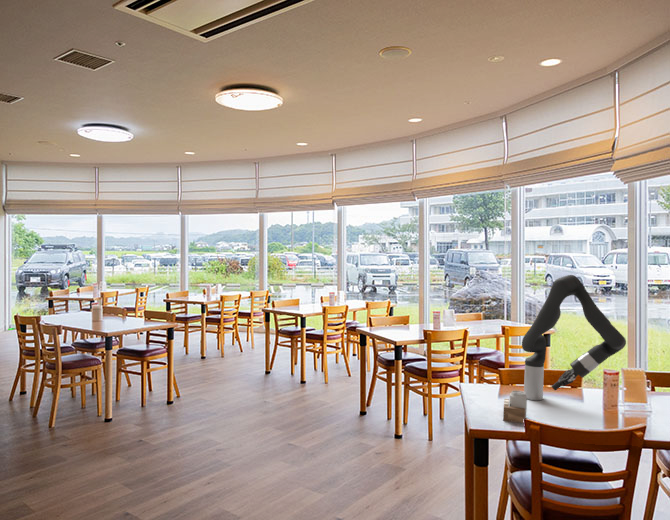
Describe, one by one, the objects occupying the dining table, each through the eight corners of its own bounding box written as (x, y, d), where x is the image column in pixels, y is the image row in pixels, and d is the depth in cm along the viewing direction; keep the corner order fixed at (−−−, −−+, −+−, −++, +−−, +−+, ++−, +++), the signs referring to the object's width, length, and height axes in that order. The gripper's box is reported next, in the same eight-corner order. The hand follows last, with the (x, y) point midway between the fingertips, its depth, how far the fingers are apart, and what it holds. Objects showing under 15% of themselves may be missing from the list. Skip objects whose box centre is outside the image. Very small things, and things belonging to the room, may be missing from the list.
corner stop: (504, 411, 240) (504, 397, 240) (524, 413, 237) (524, 399, 237) (503, 420, 227) (503, 406, 227) (524, 423, 224) (525, 408, 224)
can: (506, 415, 235) (506, 389, 234) (521, 415, 236) (522, 389, 235) (513, 420, 227) (514, 394, 227) (529, 420, 228) (530, 394, 228)
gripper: (576, 354, 229) (546, 378, 233) (580, 361, 216) (547, 385, 221) (589, 367, 227) (558, 390, 232) (593, 375, 215) (560, 399, 219)
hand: (553, 388), depth 226 cm, fingers closed
